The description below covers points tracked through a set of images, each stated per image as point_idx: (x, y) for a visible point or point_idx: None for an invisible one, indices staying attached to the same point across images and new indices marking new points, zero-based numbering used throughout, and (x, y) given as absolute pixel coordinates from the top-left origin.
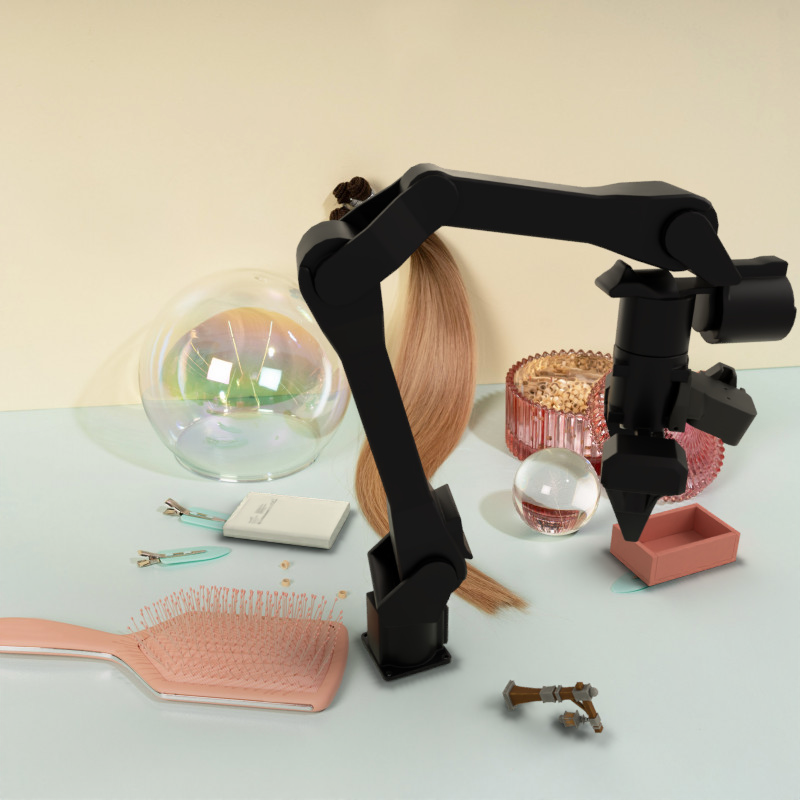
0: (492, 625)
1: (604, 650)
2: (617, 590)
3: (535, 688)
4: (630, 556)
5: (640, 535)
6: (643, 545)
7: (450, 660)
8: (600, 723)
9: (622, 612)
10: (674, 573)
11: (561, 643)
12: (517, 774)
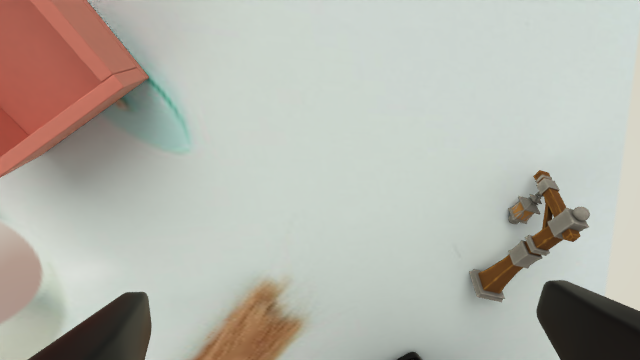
0: (327, 318)
1: (361, 164)
2: (182, 140)
3: (507, 270)
4: (81, 123)
5: (599, 295)
6: (72, 107)
7: (416, 354)
8: (545, 177)
9: (251, 133)
10: (95, 17)
11: (353, 227)
12: (585, 256)
